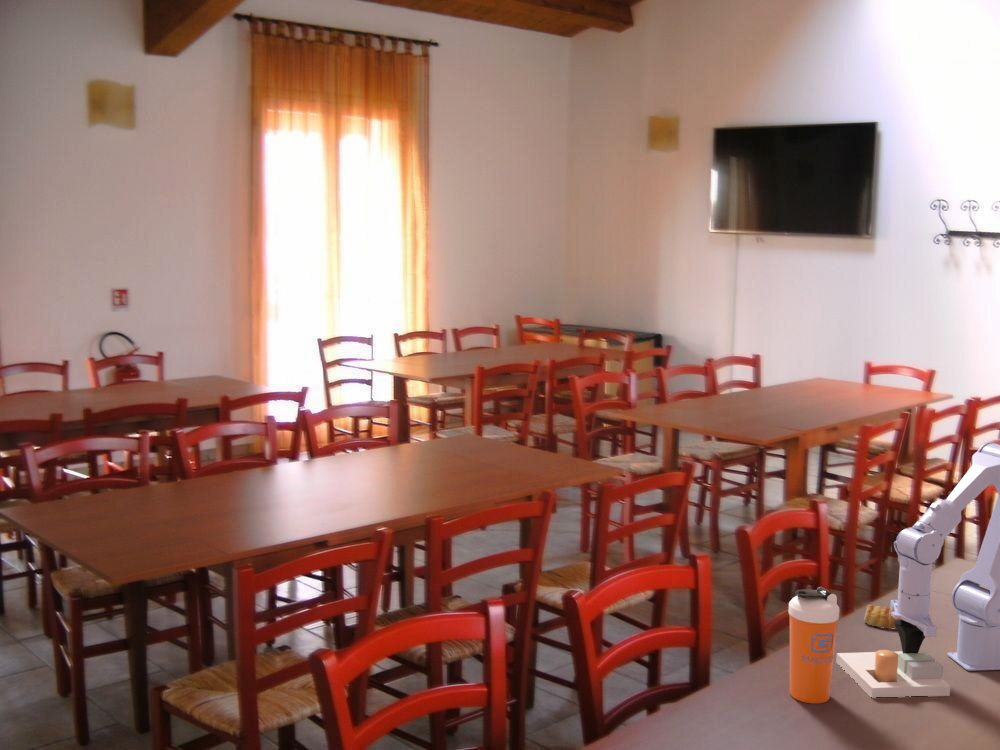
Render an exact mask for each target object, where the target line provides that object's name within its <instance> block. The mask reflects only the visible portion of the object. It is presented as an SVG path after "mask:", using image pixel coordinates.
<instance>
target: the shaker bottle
mask: <svg viewBox="0 0 1000 750" xmlns="http://www.w3.org/2000/svg"><path fill="white" fill-rule="evenodd" d="M794 594H795V596H794V597H792V599H791V600H789V602H788V612H787V613H788V615H789V694H790V696H791V697H792V698H793V699H795V700H797V701H799V702H802V703H807V704H814V705H816V704H823V703H826V702H828V701H829V700H830V697H831V695H830V694H831V688H832V687H831V686H832V678H833V677H832V676H833V669H834V668H833V667H834V659H835V658H834V657H835V648H836V638H837V629H838V628H837V627H838V621H839V619H840V606H839V605H838V604H837V602H838V596H837V595H836V594H835V593H833V592H832V591H830V590H829V589H826V588H824V587H822V586H818V587H817V589H805V588H804V589H796V590H795V591H794Z"/></svg>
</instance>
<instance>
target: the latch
mask: <svg viewBox="0 0 1000 750" xmlns="http://www.w3.org/2000/svg"><path fill="white" fill-rule="evenodd" d="M908 662H936V658H935V657H934V656H932V655H931V654H929V653H928V652H918V653H907V654H898V668H900V669H901V670H902V671H903V672H904V673H907V663H908Z"/></svg>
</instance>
